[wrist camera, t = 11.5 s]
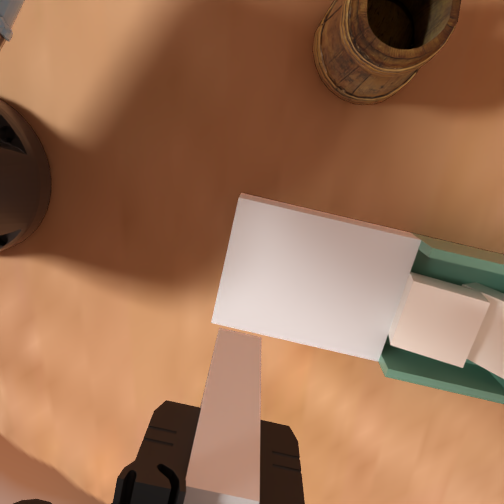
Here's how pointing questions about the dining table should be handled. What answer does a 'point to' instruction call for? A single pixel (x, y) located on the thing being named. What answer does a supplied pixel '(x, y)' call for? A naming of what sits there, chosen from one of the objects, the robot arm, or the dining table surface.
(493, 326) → the tile
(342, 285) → the board
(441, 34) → the wooden mug
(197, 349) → the dining table surface
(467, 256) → the box
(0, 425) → the dining table surface
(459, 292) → the tile
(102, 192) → the dining table surface
